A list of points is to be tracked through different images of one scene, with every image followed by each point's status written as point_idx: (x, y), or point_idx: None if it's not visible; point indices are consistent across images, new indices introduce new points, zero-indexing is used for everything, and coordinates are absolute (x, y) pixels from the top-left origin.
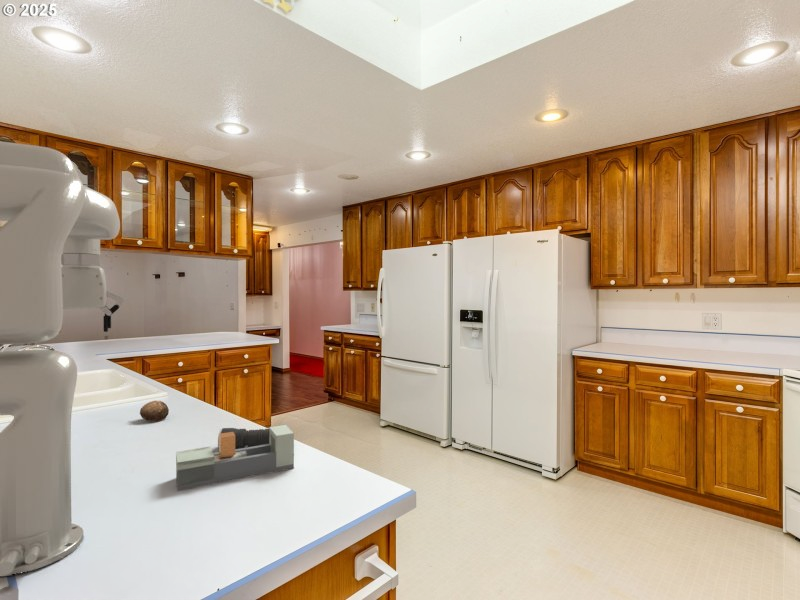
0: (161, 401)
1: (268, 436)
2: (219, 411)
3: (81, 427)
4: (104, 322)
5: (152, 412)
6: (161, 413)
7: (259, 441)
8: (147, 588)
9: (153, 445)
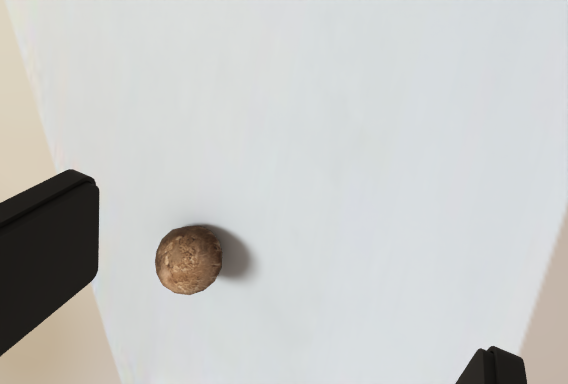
0: (159, 276)
1: None
2: None
3: (349, 325)
4: (8, 217)
5: (194, 240)
6: (177, 231)
7: None
8: None
9: (240, 23)
